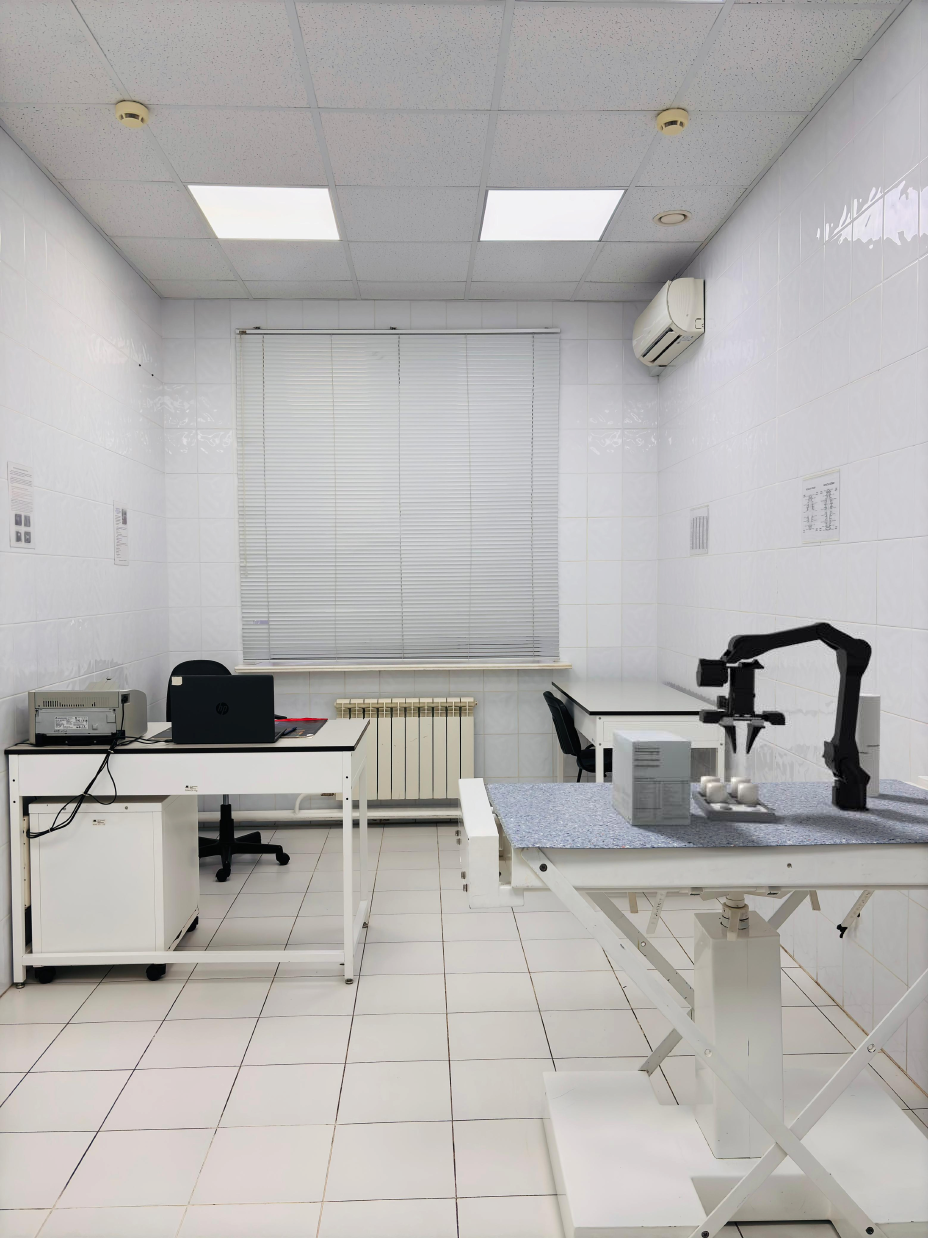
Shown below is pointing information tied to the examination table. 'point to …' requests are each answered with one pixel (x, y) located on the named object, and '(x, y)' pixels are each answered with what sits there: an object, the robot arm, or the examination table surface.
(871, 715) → the cylindrical container
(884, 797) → the examination table surface
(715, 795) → the button
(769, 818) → the button board
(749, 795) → the button
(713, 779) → the button
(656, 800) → the supplement box
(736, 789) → the button
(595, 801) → the examination table surface
